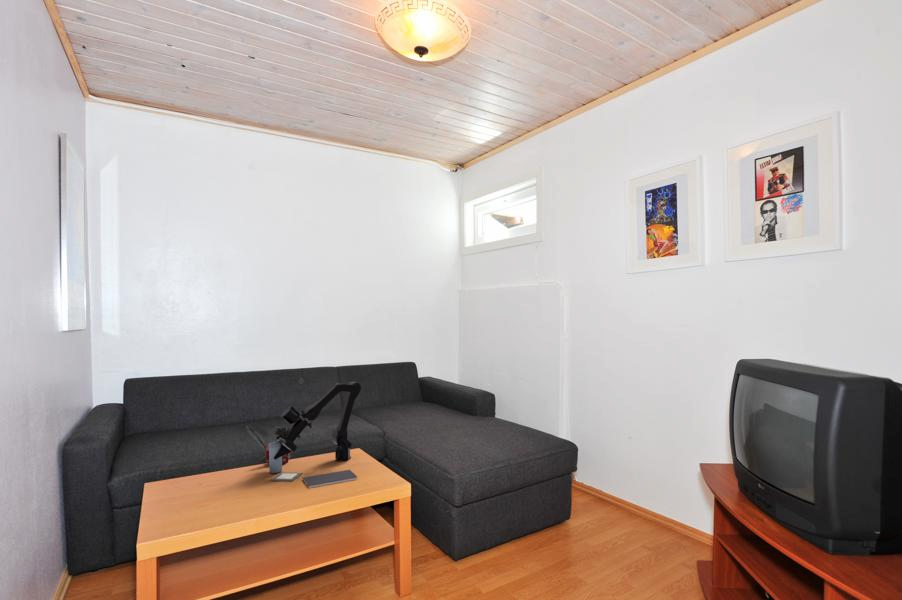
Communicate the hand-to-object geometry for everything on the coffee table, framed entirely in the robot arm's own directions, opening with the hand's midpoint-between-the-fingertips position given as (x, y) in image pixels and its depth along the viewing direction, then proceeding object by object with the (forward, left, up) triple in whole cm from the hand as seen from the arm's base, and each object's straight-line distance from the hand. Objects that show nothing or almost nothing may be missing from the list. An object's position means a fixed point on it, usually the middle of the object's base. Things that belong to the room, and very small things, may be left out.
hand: (272, 457), depth 216 cm
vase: (-1, -1, -7) cm, 7 cm away
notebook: (-31, +8, -8) cm, 33 cm away
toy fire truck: (+5, -15, -7) cm, 17 cm away
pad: (-10, +6, -7) cm, 14 cm away
